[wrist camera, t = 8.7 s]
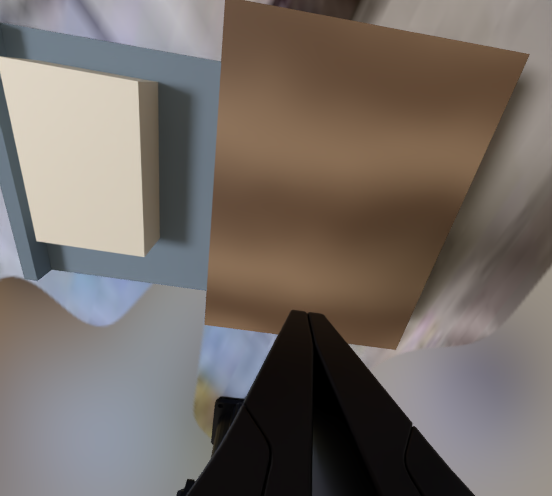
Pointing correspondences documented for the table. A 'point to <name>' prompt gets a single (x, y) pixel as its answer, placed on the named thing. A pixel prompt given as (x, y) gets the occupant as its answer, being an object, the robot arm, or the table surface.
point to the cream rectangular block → (86, 154)
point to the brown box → (341, 166)
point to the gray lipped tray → (172, 160)
